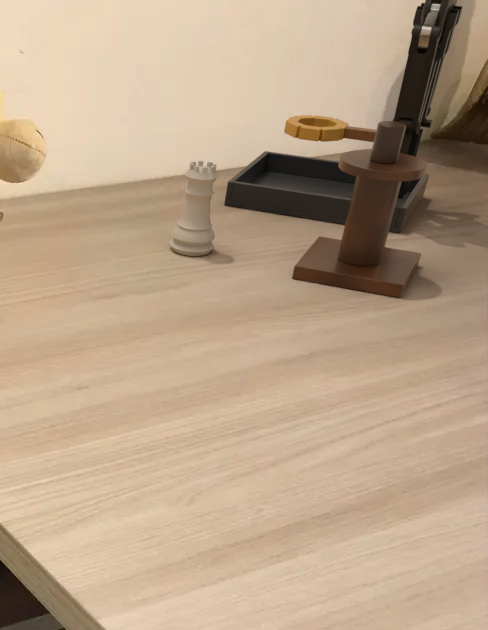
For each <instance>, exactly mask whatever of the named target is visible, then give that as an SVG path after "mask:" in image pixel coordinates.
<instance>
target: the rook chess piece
mask: <svg viewBox="0 0 488 630" xmlns="http://www.w3.org/2000/svg"><path fill="white" fill-rule="evenodd" d="M204 163H205V162H204V160H198V162H197V161H196V160H193V161H191V162H190V163H189V168H188V169H187V170H186V172H185V173H184V176H185V177H186V178H185V179H186V180H187V187H186V188H185V189H184V193H185V194H186V195H185V200H184V201H185V202H184V204H183V205H184V206H183V209H182V211H181V216H180V219H179V220H178V221H177V223H176V224H177V225H176V226H175V227H174V228H173V229H172V231H171V236H172V238H173V239H171V240H170V241H169V245H170V247H171V250H172V251H173V252H174V253H176V254H180V255H181V256H182V255H183V256H188V257H200V256H206V255H208V254H210V253H211V251H212V250H213V249H214V248H215V245H214V243H213V241H214V240H215V238H216V234H215V233H216V232H214V230H213V228H212V227H213V224H212V223H211V222H212V221H211V201H212V196H213V195H214V194H215V192H214V190H213V185H214V183H215V182H216V181H217V179H218V178H219V177H220V175H219V173H218V171H217V165H218V164H216V163H214V162H213V161H207V162H206V163H207V164H206V165H204Z"/></svg>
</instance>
